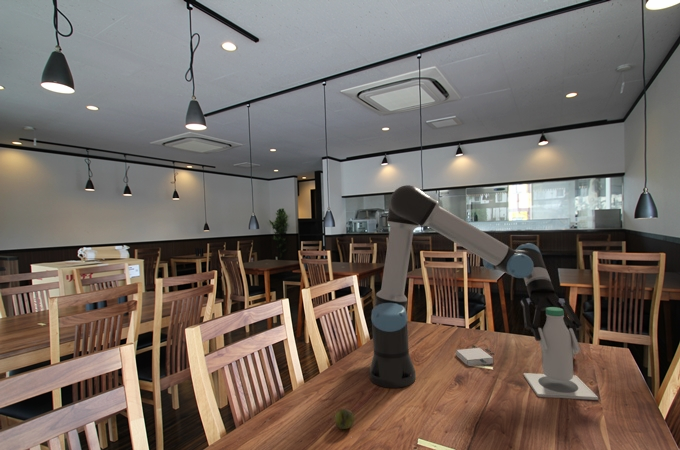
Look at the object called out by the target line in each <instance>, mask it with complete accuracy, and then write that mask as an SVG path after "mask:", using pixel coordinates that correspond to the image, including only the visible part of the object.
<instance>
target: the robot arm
mask: <svg viewBox="0 0 680 450" xmlns="http://www.w3.org/2000/svg"><path fill="white" fill-rule="evenodd" d="M386 222H387V223H386V224H388V225H389V233H388V241H387V246H386V248H387V249H386V253H385V254H386V255H385V260H384V267H383V274H382V279H381V281H382V282H381V288H380V290H378V291H377V292H376V293H375V301H374V305H373V308H372V310H371V316H370V319H371V327H372V330H371V331H372V342H373V343H372V345H373V346H372V347H373V356H372V360H371V364H370V366H369V367H370V368H369V380H370V379H371V380H370V381H371V382H372V383H373V384H375V385H377V386H379V387H382V388H388V389H399V388H404V387H408V386H410V385H412V384H413V383H414V382H415V381H416V378H417V377H416V370H415V366H414V364H413V361H412V358H411V356H410V350H409V333H408V332H409V331H408V318H409V316H408V314H407V313H408V312H407V306H408V298H407V296H406V295H405V289H406V284H407V283H406V282H407V276H408V269H409V262H410V256H411V251H412V250H411V249H412V242H413V238H414V231H415V230H416V229H417V228H418V227H419V226H421V227H425V226H427V227H428V228H430V229H431V230H433V231H435V232H437V233H438V234H440V235H441V236H444V237H445V238H447V239H448V240H450V241H452V242H454V243H455V244H457V245H459V246H460V247H463V249H466V250H467V251H469V252H471V253H472V254H474V255H476V256H477V257H479V258H481V259H482V265H483V267H484V269H486V270H492V271H495V270H496V271H501V272H502V273H505V274H507V275H509V276H511V277H513V278H515V279H516V278H517V279H523V280H524V283H525V286H526V290H527V294H528V296H529V297H527V298H525V297H522V298H521V300H520V304H521V307H522V309H523V311H522V312H523V320H524V328H525V330H530V331H531V332H532V334H533V336H534V339H535V341H537V342H539V345H540V348H541V353H542V352H543V353H546V351H547V349H548V348H547V345H546V342H545V339H544V336H543V332H542V329H543V328H542V327H539V323H540V322H539V321H540V318H541V312H543V311H545V312H546V308H548V307H557V308H561V307H563V308H562V309H563V310H564V317H563V320H564V323H565V325H566V327H567V329H568V331H569V333H570V336H571V343H572V348H573V351H574V353H575V354H576V355H577V354H579V352H581V348H580V344H579V340H580V336H579V334H578V333H579V332H578V331H579V330H580V329H581V328H582V326H583V324H582V322H581V321H580V319H579V317H578V315H577V314H576V312H575V310H574V309H573V307H572V305H571V304H570V303H571V302H570V298H569V297H565V298H559V296H558V295H557V294H556V291H555V289H554V286H553V284H552V280H551V278H550V275H549V273H548V270H547V267H546V263H545V262H544V259H543V255H542V253H541V250H540V248H539V247H538V246H537V244H536V245H535V244H534V243H529V242H528V243H525V244H520V245H519V246H518V247H517V248H516V249H514V248H511V247H510V246H508V245H507V244H505V243H503V242H502V241H501V240H500V241H499V240H498V239H497V238H494V237H493V236H491V235H490V234H488V233H486V232H485V231H483V230H481V229H479V228H478V227H476V226H474V225H473V224H471V223H469V222H467V221H466V220H464V219H462V218H461V217H459V216H457V215H455V214H453V213H451V212H450V211H448V210H446V209H445V208H444V207H442V206H440V205H439V201H438V200H436V199H434V198H433V197H431V196H430V195H428V194H426V193H425V192H424V191H422V190H421V189H420V188H418V187H417V186H414V185H411V184H410V185H409V184H408V185H407V184H406V185H401V186H399V187H397V188H396V189H395V190H394V191H393V192H392V194H391V195H390V198H389V201H388V211H387V220H386ZM558 303H559V304H560V305H561V307H560V305H559V304H558ZM530 304H531V305H533V306H534V307H535V311H534V317H533V320H532V321H533V322H531V314H530Z"/></svg>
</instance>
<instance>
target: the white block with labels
mask: <svg viewBox="0 0 680 450" xmlns="http://www.w3.org/2000/svg"><path fill="white" fill-rule="evenodd" d="M471 347H472V348H460V349H455V356H457V358H459V359H460V360H461V361H462V363H464V364H465V365H467V366H468V367H470V366H481V365H484V366H485V367H490V366H491V365H490V364H494V363H495V362H494V356H495V352H492V350H490V349H489V348H485V350H483V349H482V348H481V347H477V346H476V345H473V344H472V345H471ZM492 355H494V356H492Z"/></svg>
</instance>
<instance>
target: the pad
mask: <svg viewBox="0 0 680 450" xmlns="http://www.w3.org/2000/svg"><path fill="white" fill-rule="evenodd" d="M523 376H524V377H523V378H525V380H526V381H527V383H528V384H529V386H530V387H531V390H533V392H534V393H535V395H536V396H537V397H539V398H554V399H574V400H593V401H598V400H599V397H598V396H597V394H595V392H594V391H592V389H590V388H589V387H588V386H587V385H586V384H585V382H583V381H582V380H581V379H580V378H579V376H577V375H574V374H573V378H572V379H571V380H566V381H562V380H556V379H552V378H549V377H547V376H546V375H545V374H544V373H533V372H532V373H527V372H524V373H523Z"/></svg>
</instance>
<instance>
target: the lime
mask: <svg viewBox="0 0 680 450" xmlns="http://www.w3.org/2000/svg"><path fill="white" fill-rule="evenodd" d="M354 421H355V415H354V413H353V412H352V411H351V410H350V409H346V408H343V409H340V410H338V411H337V412H336V413H335V414H334V423H335V424H336V427H338V428H339V429H341V430H348V429H349V428H351V427H352V425H353V423H354Z"/></svg>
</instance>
